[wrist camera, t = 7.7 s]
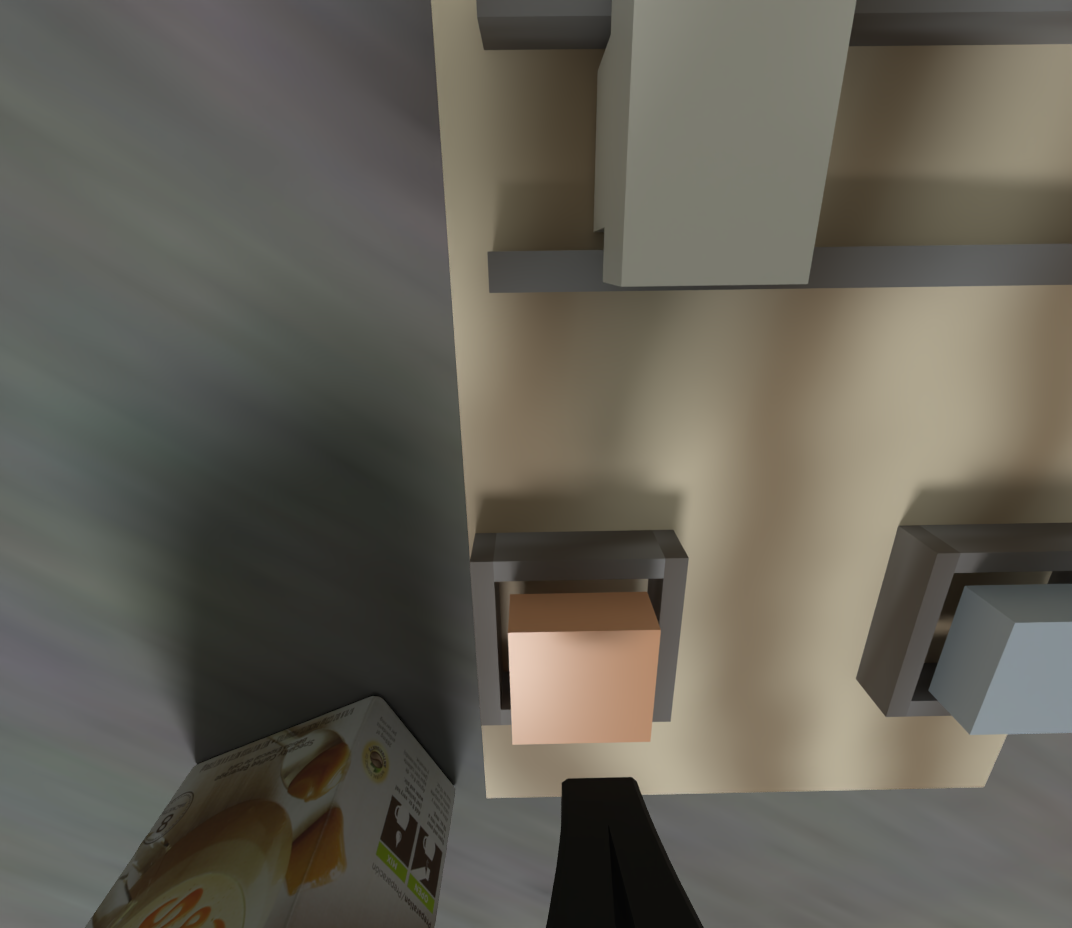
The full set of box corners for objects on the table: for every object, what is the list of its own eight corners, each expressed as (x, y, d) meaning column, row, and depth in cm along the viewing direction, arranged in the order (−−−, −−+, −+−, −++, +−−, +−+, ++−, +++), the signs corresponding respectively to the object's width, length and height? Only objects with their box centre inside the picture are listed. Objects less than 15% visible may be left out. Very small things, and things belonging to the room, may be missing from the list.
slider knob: (750, 8, 10) (880, -141, 6) (720, 277, 12) (807, 284, 8) (598, 9, 10) (640, -139, 6) (592, 279, 12) (621, 286, 8)
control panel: (1208, -26, 12) (1511, -155, 8) (933, 728, 21) (1020, 829, 17) (445, -19, 12) (407, -147, 8) (491, 738, 21) (483, 842, 17)
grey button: (1100, 583, 14) (1165, 620, 12) (1051, 688, 15) (1105, 732, 13) (964, 585, 14) (1014, 622, 12) (928, 690, 15) (970, 734, 13)
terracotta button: (647, 591, 13) (660, 629, 12) (638, 696, 15) (650, 741, 13) (510, 594, 13) (507, 632, 12) (514, 698, 15) (512, 744, 13)
